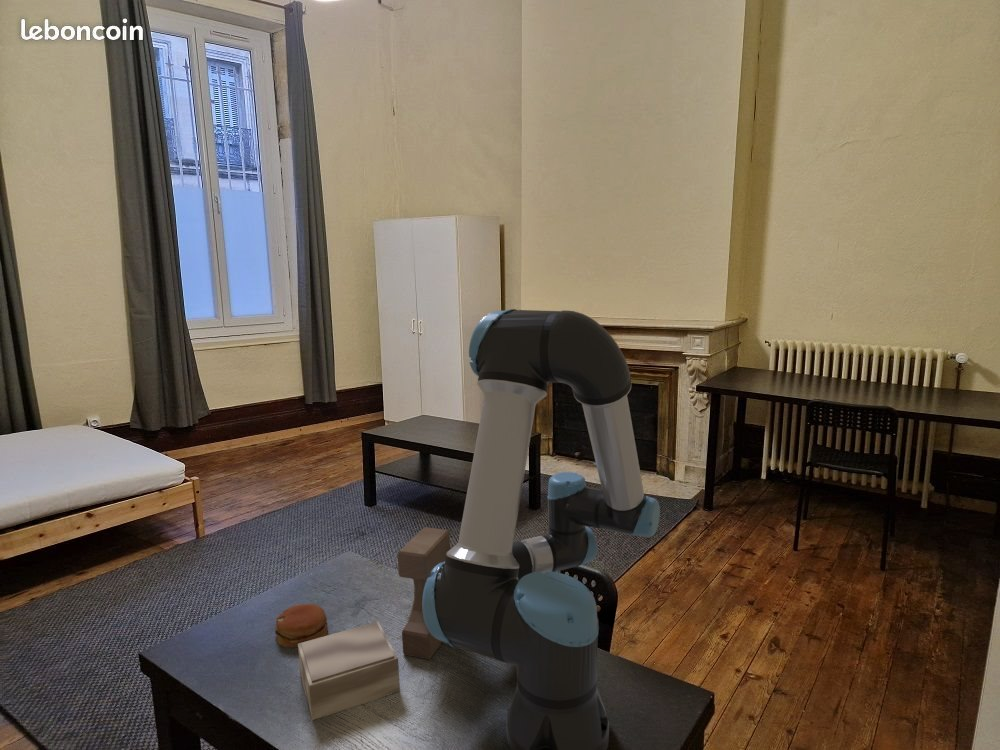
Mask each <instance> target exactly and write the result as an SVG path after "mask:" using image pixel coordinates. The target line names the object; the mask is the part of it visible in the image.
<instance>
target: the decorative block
mask: <svg viewBox="0 0 1000 750" xmlns="http://www.w3.org/2000/svg"><path fill="white" fill-rule="evenodd" d="M450 538H451V537H450V531H449V529H445V528H444V529H442V528H435V527H426V526H423V528H422V529H420V530H419V531H418V532H417V533H416V534H415V535H414V536H413V537H412V538H411V539H410V540H409V541H408V542H407V543H406V544H405V545H404V546H403V547H402V548H400V550H399V551H398V552H397V554H396V555H397V568H398V570H397V571H398V576H399V577H400V578H406V579H412V581H413V588H414V590H413V591H414V592H413V593H414V594H413V596H414V597H413V601H412V606H411V611H410V613H409V617H408V620H407V621H406V624H405V625H404V627H403V629H402V630H401V638H402V641H401V642H402V653H403V655H406V656H410V657H415V658H421V659H425V660H430V659H431V658H432V657H433V656H434V654H435V653H436V651H438V650H437V649H438V648H439V647H440V646H441V644H442V643H443V642H442V641H440V640H438V639H436V638H435V637H433V636H432V635H431V633H430V632H429V630H428V628H427V626H426V624H425V621H424V617H423V610H422V599H423V592H424V587H425V584H426V581H427V578H429V577H431V575H430V573H431V571H432V570H433V568H434V567H435V566H436V565H438V564H439V563H442V562H445V559H446V553H447V552H448V551H449V550H450V548H451V541H450Z"/></svg>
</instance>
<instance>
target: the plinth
mask: <svg viewBox="0 0 1000 750" xmlns="http://www.w3.org/2000/svg"><path fill="white" fill-rule="evenodd" d="M297 651H298V660H299V661H298V662H299V672H300V680H301V681H302V686H303V690H304V694H305V698H306V702H307V706H308V709H309V712H310V713H309V714H310V716H311V720H312V721H315V720H318V719H320V718H321V719H322V718H324V717H327V716H329V715H333V714H335V713H338V712H341V711H345V710H348V709H351V708H354V707H358V706H360V705H363V704H366V703H369V702H371V701H374V700H375V701H376V700H377V699H380V698H384V697H387V696H389V695H388V694H390V695H392V694H391V693H393V694H395V693H394V692H396V693H399V692H401V688H400V670H399V669H400V668H399V667H400V666H399V658H398V655H397V654H396V651H395V650H394V649H393V646H392V645H391V643H390V641H389V639H388V636H387V635H386V632H385V631H384V629H383V628H382V626H381V624H380V621H375V622H371V623H368V624H364V625H361V626H357V627H353V628H350V629H346V630H345V629H344V630H343V631H340V632H339V631H338V632H335V633H331V634H328V635H327V634H326V635H325V636H324V637H320V638H316V639H313V640H309V641H306V642H302V643H298V647H297ZM398 691H399V692H398ZM386 695H387V696H386Z"/></svg>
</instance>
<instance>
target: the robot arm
mask: <svg viewBox="0 0 1000 750" xmlns="http://www.w3.org/2000/svg"><path fill="white" fill-rule="evenodd" d="M468 357H469V358H470V360H469V366H470V369H471V371H472V373H474V374H475V375H476V376H477V377H478V378H477V383H476V384H477V386H478V387H479V389H480V390H481V392H482V393H483V396H484V397H483V402H482V408H481V413H480V419H479V425H478V429H477V433H476V434H477V436H476V441H475V446H474V452H473V456H472V457H473V458H472V462H471V463H472V464H471V469H470V475H469V481H468V485H467V490H466V491H467V492H466V495H465V497H466V498H465V503H464V508H463V514H462V519H461V524H460V530H459V535H458V541H457V543H456V545H455V546H453V547H450V550H449V551H448V552H447V553H446V559H445V562H442V563H439V564H438V565H436V566H435V567H434V568H433V570H432V571H431V573H430V575H431V577H429V578H427V581H426V584H425V587H424V592H423V599H422V610H423V617H424V621H425V624H426V626H427V628H428V630H429V632H430V633H431V635H432V636H433V637H435V638H436V639H438V640H440V641H442V643H445V644H448V645H449V646H450V647H452V648H455V649H458V650H459V649H461V650H465V651H468V652H471V653H473V654H477V655H480V656H483V657H487V658H490V659H493V660H497V661H498V662H502V663H505V664H508V665H511V666H513V667H516V679H517V680H516V683H517V684H516V687H515V690H514V693H513V696H512V699H511V703H510V705H509V708H508V710H507V713H506V714H507V715H506V720H505V722H506V723H505V726H506V727H505V728H506V729H505V731H506V732H505V733H506V741H507V744H508V746H509V748H510V750H607V749H608V747H609V742H610V722H609V717H608V714H607V712H606V708H605V706H604V703H603V700H602V697H601V695H600V692H599V688H598V645H599V644H598V637H599V629H600V627H599V626H600V625H599V619H598V611H597V609H598V608H597V602H596V599H595V597H594V595H593V594H592V593H591V591H590V589H589V588H588V587H587V586H586V585H585V584H583V582H581V581H579V580H578V579H576V578H575V577H572V576H570V575H567V574H565V573H562V572H560V571H564V570H567V569H572V568H578V567H580V566H583V565H586V564H588V563H591V562H592V561H594V560H595V559H596V557H597V554H598V550H599V549H598V548H599V547H598V546H599V545H598V542H597V538H596V535H595V533H594V531H593V530H592V529H591V528H595V529H601V530H606V531H610V532H615V533H619V534H625V535H629V536H632V537H634V536H637V537H643V538H650V537H653V536H654V535H655V534H656V532H657V530H658V528H659V525H660V524H659V523H660V516H661V508H660V502H659V501H658V499H656V498H654V497H651V496H648V495H646V496H645V493H644V487H643V485H644V484H643V481H642V474H641V470H640V469H641V468H640V464H639V463H640V462H639V458H638V451H637V445H636V440H635V434H634V427H633V423H632V416H631V411H630V405H629V399H628V394H629V393H630V392H631V390H632V378H631V373H630V368H629V365H628V363H627V360H626V358H625V356H624V354H623V351H622V350H621V348H620V346H619V345H618V343H617V342H616V340H615V339H614V338H613V336H612V335H611V334H610V333H609V331H608V330H606V328H604V327H603V326H602V325H601V324H600V323H599V322H598V321H597V320H595V319H593V318H591V317H590V316H588V315H587V314H584V313H581V312H578V311H575V310H536V309H535V310H533V309H532V310H530V309H528V310H527V309H515V308H509V309H506V310H494V311H491V312H488V313H487V314H486V315H485V316H482V317H481V319H480V320H479V321H478V322H477V324H476V326H475V327H474V330H473V332H472V334H471V337H470V340H469V346H468ZM549 383H551V384H552V383H553V384H554V383H555V384H566V385H568V386H570V387H571V390H572V394H573V397H574V398H575V400H576V401H577V402H578V403H580V404H581V406H582V410H583V413H584V418H585V423H586V427H587V431H588V435H589V440H590V443H591V444H590V445H591V447H592V452H593V453H592V454H593V456H594V462H595V464H596V469H597V470H596V471H597V473H598V478H599V482H600V485H601V486H600V487H601V489H599V488H594V487H587V482H586V478H585V477H584V476H583V475H582V474H578V473H577V472H573V471H569V472H567V471H563V472H558V473H555V474H553V475H552V476H551V477H550V478H549V480H548V485H547V487H548V489H547V516H548V517H547V521H548V523H547V525H548V526H547V527H548V533H545V534H542V535H539V536H534V537H530V538H525V539H521V541H520V540H517V541H514V540H515V535H516V534H515V533H516V529H517V522H518V516H519V510H520V509H519V508H520V505H521V497H522V491H523V485H524V478H525V474H526V473H525V472H526V467H527V461H528V456H529V455H528V453H529V449H530V444H531V443H530V442H531V436H532V432H533V431H532V430H533V423H534V418H535V412H536V405H537V404H538V403H539V402H540V401H542V400H543V399H544V398H546V397H547V395H548V389H549ZM590 527H591V528H590Z"/></svg>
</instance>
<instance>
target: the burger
mask: <svg viewBox="0 0 1000 750" xmlns="http://www.w3.org/2000/svg"><path fill="white" fill-rule="evenodd" d="M328 630H329V627H328V622H327V614H326V611H325V610H324V608H323V607H321V606H320V605H318V604H315V603H303V604H302V603H301V604H295V605H293V606H292V605H291V606H289V607H288V608H287V609H285V610H284V611H282V613H281V614H279V615H278V616H277V618H276V621H275V628H274V633H275V635H276V642H277V644H279V646H281V647H284V648H290V649H291V648H293V649H294V648H298V643H302V642H306V641H309V640H313V639H316V638H320V637H324V636H327V633H328Z"/></svg>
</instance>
